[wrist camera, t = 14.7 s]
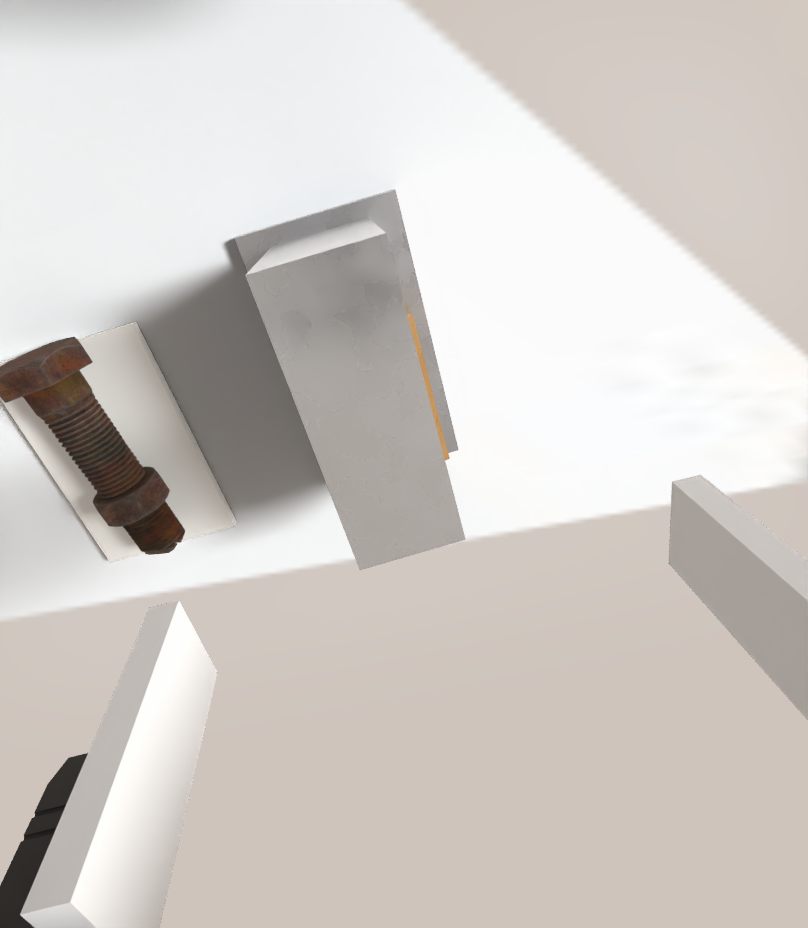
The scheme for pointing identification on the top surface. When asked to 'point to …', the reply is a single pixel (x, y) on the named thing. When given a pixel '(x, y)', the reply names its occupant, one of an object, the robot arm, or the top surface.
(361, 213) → the block
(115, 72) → the top surface
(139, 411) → the mat
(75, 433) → the bolt
